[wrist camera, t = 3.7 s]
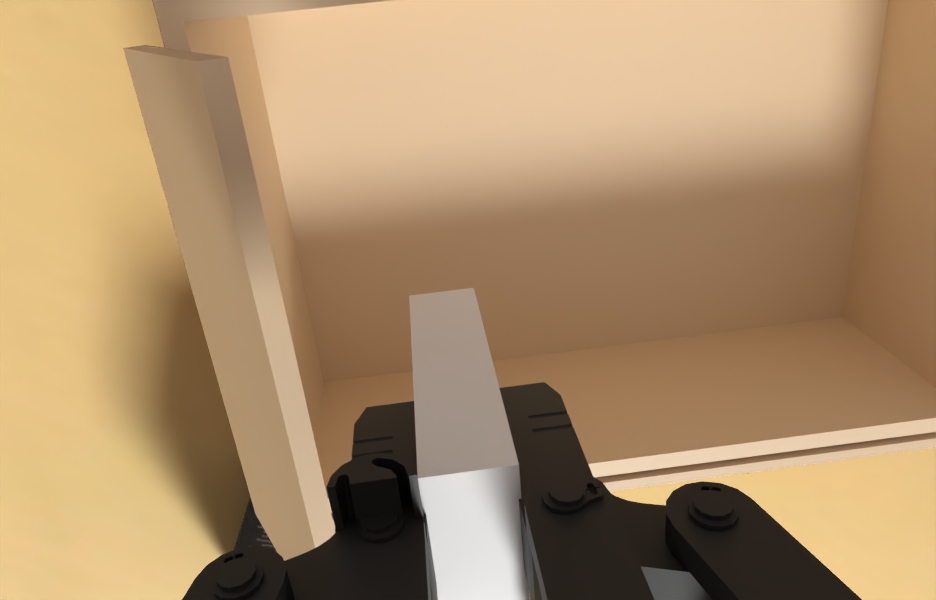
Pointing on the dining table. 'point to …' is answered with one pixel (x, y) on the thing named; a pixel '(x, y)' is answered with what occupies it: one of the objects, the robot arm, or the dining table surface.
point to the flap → (234, 285)
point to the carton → (606, 212)
